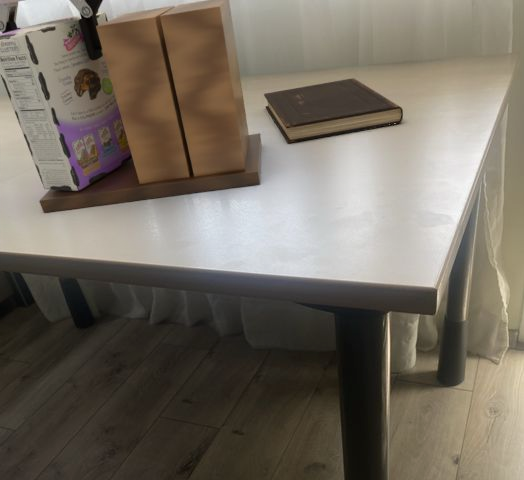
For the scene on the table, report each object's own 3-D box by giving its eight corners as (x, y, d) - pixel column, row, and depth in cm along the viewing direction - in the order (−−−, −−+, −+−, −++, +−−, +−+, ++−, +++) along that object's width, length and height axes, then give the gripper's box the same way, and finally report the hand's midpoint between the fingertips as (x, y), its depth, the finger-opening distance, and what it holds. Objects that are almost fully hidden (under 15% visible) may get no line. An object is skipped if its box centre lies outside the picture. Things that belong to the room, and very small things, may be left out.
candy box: (110, 153, 74) (69, 15, 64) (145, 153, 72) (108, 10, 62) (42, 190, 64) (-19, 35, 55) (79, 191, 62) (23, 29, 52)
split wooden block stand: (43, 212, 63) (-24, 46, 53) (81, 169, 76) (33, 28, 66) (260, 184, 61) (234, 4, 50) (261, 144, 74) (241, -6, 63)
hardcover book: (288, 143, 72) (286, 126, 71) (265, 108, 91) (264, 93, 89) (403, 123, 72) (403, 105, 71) (357, 92, 91) (357, 77, 90)
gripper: (-113, -132, 48) (-25, 81, 58) (71, -168, 47) (128, 57, 57) (-70, -122, 54) (3, 69, 65) (94, -154, 53) (142, 47, 63)
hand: (61, 62), depth 61 cm, fingers closed on candy box, 7 cm apart
